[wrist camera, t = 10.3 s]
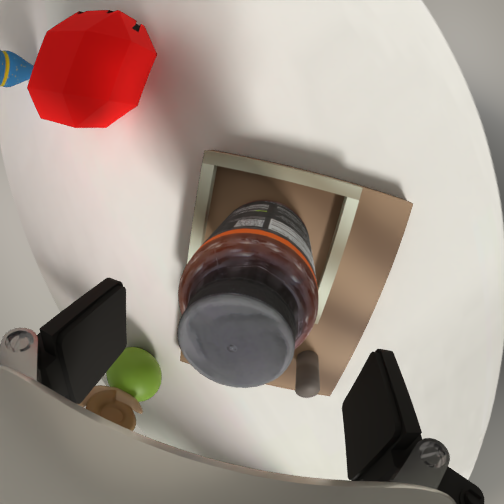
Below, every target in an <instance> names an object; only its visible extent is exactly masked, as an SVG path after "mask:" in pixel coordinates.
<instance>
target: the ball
mask: <svg viewBox="0 0 504 504" xmlns="http://www.w3.org/2000/svg"><path fill="white" fill-rule="evenodd" d="M136 22H137V21H136V20H134V19H133V18H131V17H129V16H128V15H126V14H124V13H123V12H121V11H119V10H117V11H114V12H113V11H110V10H98V11H86V12H80V11H79V12H77V13H75V14H74V15H72V16H70V17H69V18H67V19H66V20H64V21H62V22H61V23H59V24H58V25H56V26H55V27H53V28H52V29H50V30H49V31H47V33H46V35H45V37H44V40H43V42H42V45H41V48H40V50H39V53H38V56H37V59H36V61H35V64H34V67H33V70H32V74H31V77H30V80H29V83H28V87H27V89H28V91H29V93H30V96H31V98H32V100H33V102H34V105H35V107H36V109H37V111H38V113H39V116H40V118H42V119H45V120H49V121H53V122H57V123H60V124H64V125H67V126H71V127H74V128H106V127H108V126H109V125H111V124H112V123H113V122H115V121H116V120H117V119H119V118H120V117H122V116H123V115H125V114H126V113H127V112H129V111H130V110H132V109H133V108H135V107H136V106H138V103H139V100H140V97H141V94H142V91H143V89H144V86H145V83H146V81H147V78H148V76H149V73H150V70H151V68H152V65H153V63H154V61H155V58H156V56H157V53H156V51H155V49H154V47H153V44H152V42H151V40H150V38H149V35H148V33H147V31H146V29H145V26H144V25H142V24H141V25H140V26H139V25H137V24H136Z"/></svg>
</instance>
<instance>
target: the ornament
mask: <svg viewBox="0 0 504 504" xmlns="http://www.w3.org/2000/svg"><path fill="white" fill-rule="evenodd" d="M33 67H34V66H33V65H31V64H30V63H28V62H27V61H25V60H24V59H22V58H21V57H20V56H18V55H17V54H15V53H13V52H11V51H1V50H0V86H3V87H11V86H14V85H16V84H19V83H21V82H23V81H26V80H28V79H30V77H31V74H32V70H33Z"/></svg>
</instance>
